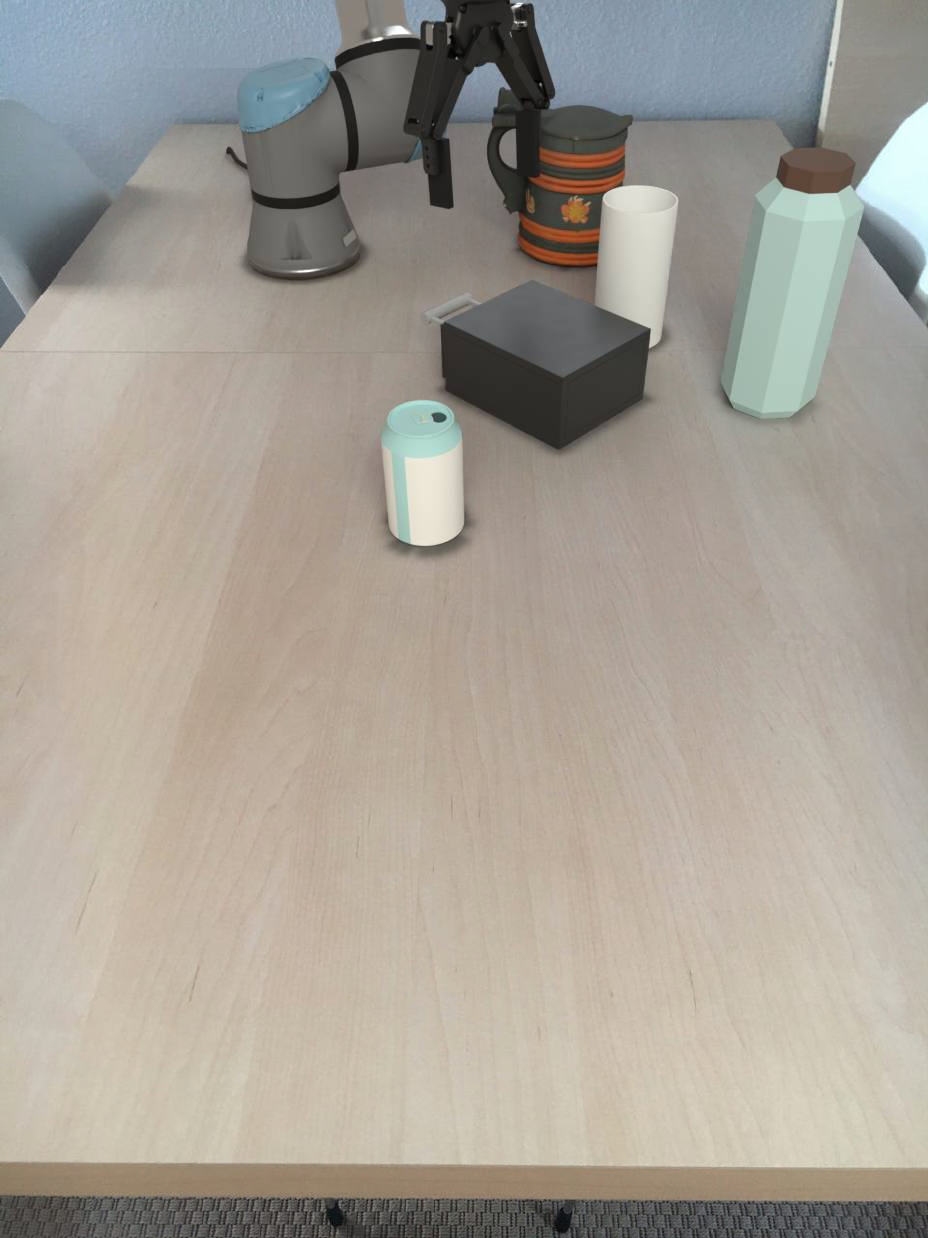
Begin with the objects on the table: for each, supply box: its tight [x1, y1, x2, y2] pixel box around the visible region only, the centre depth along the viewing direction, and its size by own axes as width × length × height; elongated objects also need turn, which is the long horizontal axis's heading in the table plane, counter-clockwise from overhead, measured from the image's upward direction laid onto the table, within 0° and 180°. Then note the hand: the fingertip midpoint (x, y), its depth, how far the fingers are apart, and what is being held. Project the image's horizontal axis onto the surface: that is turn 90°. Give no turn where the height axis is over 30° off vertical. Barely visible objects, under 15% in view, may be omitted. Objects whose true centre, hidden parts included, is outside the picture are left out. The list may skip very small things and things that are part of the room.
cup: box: [593, 184, 679, 349], centre depth 113 cm, size 8×8×16 cm
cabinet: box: [443, 279, 651, 451], centre depth 106 cm, size 17×14×8 cm
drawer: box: [420, 291, 483, 380], centre depth 109 cm, size 22×13×6 cm, turn 44°
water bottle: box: [720, 147, 865, 420], centre depth 99 cm, size 10×10×25 cm
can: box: [380, 399, 465, 547], centre depth 88 cm, size 7×7×12 cm
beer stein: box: [486, 86, 634, 268], centre depth 130 cm, size 19×15×20 cm
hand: (486, 190), depth 106 cm, fingers open, 13 cm apart
